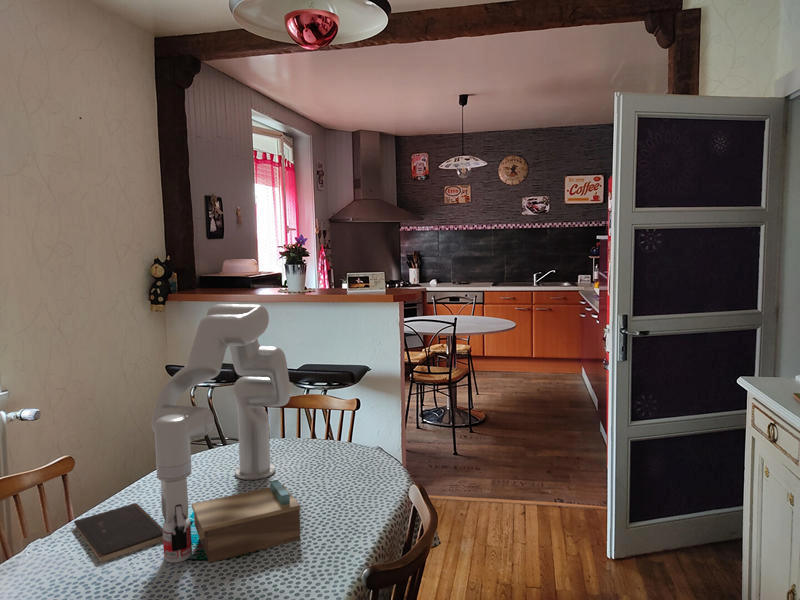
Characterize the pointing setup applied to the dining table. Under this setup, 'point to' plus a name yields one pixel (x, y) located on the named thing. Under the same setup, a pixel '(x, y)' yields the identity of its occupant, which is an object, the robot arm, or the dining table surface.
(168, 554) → the pill bottle
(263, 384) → the robot arm
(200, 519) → the toolbox lid
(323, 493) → the dining table surface
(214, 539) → the brown boxy piece
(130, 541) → the hardcover book
